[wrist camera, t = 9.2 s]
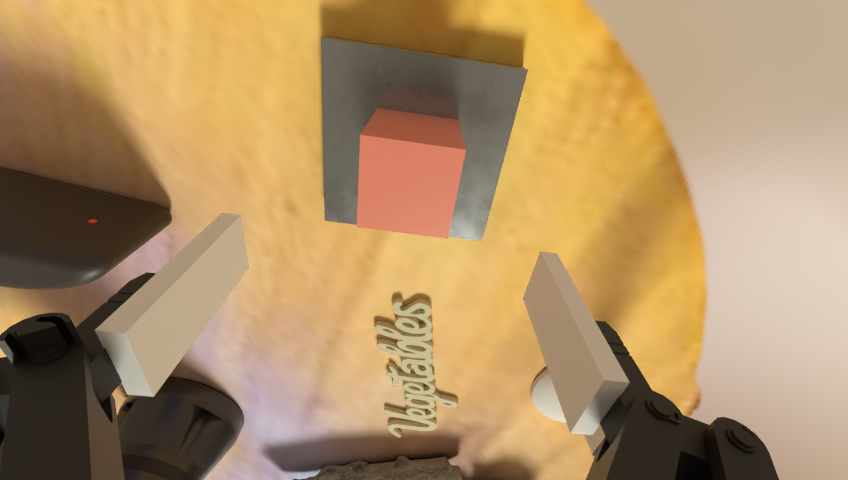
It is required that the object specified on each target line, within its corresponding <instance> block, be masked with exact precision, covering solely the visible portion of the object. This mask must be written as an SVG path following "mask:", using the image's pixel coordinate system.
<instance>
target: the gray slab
mask: <svg viewBox="0 0 848 480" xmlns="http://www.w3.org/2000/svg"><path fill="white" fill-rule="evenodd" d="M321 45H322V97H323V150H324V203H325V221H332V222H340V223H348V224H355V225H357V206H358V179H359V153H360V134H361V133H362V131H363V130H364V128H365V126H366V125H367V123H368V122H369V120H370V119H371V117H372V115H373V114H374V112H375V111H376V109H377V108H382V109H389V110H396V111H402V112H409V113H416V114H423V115H429V116H436V117H443V118H450V119H457V120H459V123H460V127H461V131H462V135H463V139H464V143H465V147H466V153H465V158H464V163H463V167H462V172H461V177H460V182H459V187H458V192H457V197H456V202H455V206H454V211H453V216H452V221H451V226H450V231H449V236H448V237H456V238H463V239H471V240H479V241H482V238H483V234H484V231H485V227H486V223H487V220H488V216H489V212H490V208H491V205H492V201H493V197H494V194H495V190H496V186H497V182H498V179H499V175H500V171H501V167H502V164H503V160H504V156H505V153H506V149H507V145H508V141H509V138H510V134H511V130H512V127H513V123H514V119H515V115H516V112H517V108H518V104H519V101H520V97H521V93H522V89H523V86H524V82H525V78H526V74H527V71H528V70H527V69H525V68H523V67H518V66H512V65H505V64H499V63H493V62H486V61H480V60H474V59H467V58H461V57H455V56H448V55H442V54H435V53H429V52H423V51H416V50H410V49H404V48H397V47H391V46H385V45H378V44H372V43H366V42H359V41H353V40H346V39H340V38H334V37H321Z"/></svg>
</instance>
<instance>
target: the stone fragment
mask: <svg viewBox="0 0 848 480" xmlns="http://www.w3.org/2000/svg"><path fill="white" fill-rule="evenodd" d="M293 480H299V479H293ZM300 480H463V479H462V476H461V471H460V467H459V466H452V465H451V464H450V463H449V462H448V459H447V457H439V458H432V459H418V460H409V459H408V458H407V457H405V456H404V455H400V456H398V457H397V459H396V461H392V462H384V463H374V464H368V462H367V461H365V462H364V461H356V462H353V463H350V464H347V465H344V466H338V465H327V466H325V467H324V468H323V469H321V471H320V472H319V474H317V475H316V476H314V477H309V478H306V479H300Z"/></svg>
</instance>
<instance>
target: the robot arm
mask: <svg viewBox="0 0 848 480" xmlns="http://www.w3.org/2000/svg"><path fill="white" fill-rule="evenodd" d="M248 268H249V264H248V258H247V252H246V245H245V239H244V233H243V226H242V220H241V215H235V214H226V213H222V214H221V215H219V216H218V217H217V218H216V219H215V220H214V221H213V222H212V223H211V224H210V225H209V226H207V227H206V228H205V229H204V230H203V231H202V232H201V233H200V234H199V235H198V236H197V237H196V238H194V239H193V240H192V241H191V242H190V243H189V244H188V245H187V246H186V247H185V248H184V249H182V250H181V251H180V252H179V253H178V254H177V255H176V256H175V257H174V258H173V259H172V260H170V261H169V262H168V263H167V264H166V265H165V266H164V267H163V268H162V269H161V270H160V271H158V272H157V273H145V274H143V275H141V276H139V277H137V278H135V279H133V280H131V281H129V282H128V283H127V284H126V285H125V286H124V287H123V288H121V289H120V290H119V291H118V293H117V294H114V295H113V296H112V297H111V298H110V299H109V300H108V302H107V303H104V304H103V305H102V306H100V307H99V308H98V309H97V310H96V311H95V312H94V313H92V314H91V315H90V316H89V317H88V318H87V319H85V320H84V321H83V322H82V323H81V324H80V325H78V326H77V327H76V328H75V326H74V324H73V323H72V321H71V319H70V317H69V316H68V315H65V314H63V313H46V314H41V315H36V316H33V317H30V318H27V319H25V320H22V321H20V322H18V323H16V324H15V325H13V326H11V327H9V328H8V329H7V330H6V331H5V332H3V333H2V334H1V335H0V348H1V349H2V350H3V352H4V353H5V355H6V356H7V357H3V358H0V480H204V479H205V477H206V476H207V475H208V474H209V473H210V472H211V470H212V469H213V468H214V467H215V466H216V465H217V463H218V462H219V461H220V460H221V459H222V458H223V456H224V455H225V454H226V453H227V452H228V451H229V449H230V448H231V447H232V446H233V445H234V443H235V442H236V440H237V438H238V436H239V434H240V432H241V429H242V427H243V424H244V418H243V414H242V412H241V411H240V409H239V408H238V406H237V405H236V404H235V403H234V402H233V401H232V400H230V399H229V398H228V397H226V396H225V395H223V394H222V393H220V392H218V391H216V390H214V389H212V388H210V387H208V386H205V385H202V384H199V383H196V382H192V381H188V380H183V379H176V378H168V377H169V375H170V374H171V373H172V371H173V370H174V369H175V367H176V366H177V364H178V363H179V362H180V360H181V359H182V358H183V356H184V355H185V354H186V352H187V351H188V350H189V348H190V347H191V345H192V344H193V343H194V341H195V340H196V339H197V337H198V336H199V335H200V333H201V332H202V331H203V329H204V328H205V326H206V325H207V324H208V322H209V321H210V320H211V318H212V317H213V316H214V314H215V313H216V311H217V310H218V309H219V307H220V306H221V305H222V303H223V302H224V301H225V299H226V298H227V297H228V295H229V294H230V292H231V291H232V290H233V288H234V287H235V286H236V284H237V283H238V282H239V280H240V279H241V277H242V276H243V275H244V273H245V272H246V271H247V269H248ZM523 300H524V302H525V305H526V308H527V311H528V314H529V317H530V320H531V322H532V325H533V328H534V331H535V334H536V337H537V340H538V342H539V345H540V348H541V351H542V354H543V357H544V360H545V362H546V365H547V368H548V371H549V374H550V377H551V380H552V382H553V385H554V388H555V391H556V394H557V397H558V400H559V402H560V405H561V408H562V411H563V414H564V417H565V420H566V422H567V425H568V428H569V431H570V433H574V434H586V435H593V434H594V433H595V431H596V430H597V428H598V427H599V425H601V427H602V430H603V432H604V434H605V438H604V439H603V440H602V442H601V443H600V444H599V446H598V447H597V448H596V450H595V451H594V452H593V454H592V455H594V456H595V459H594V461H593V463H592V466H591V468H590V471H589V473H588V476H587V478H586V480H779V478H778V476H777V473H776V471H775V468H774V465H773V462H772V460H771V457H770V454H769V452H768V450H767V448H766V446H765V445H764V443H763V442H762V441H761V440H760V439H759V437H758V436H757V435H756V434H755V433H753V432H752V431H751V430H750V429H748V428H747V427H746V426H744V425H742V424H741V423H739V422H737V421H735V420H732V419H729V418H726V417H720V418H717V419H716V420H715V421H714V422H712V423H711V424H710V425H708V424H705V423H702V422H700V421H697V420H694V419H692V418H689V417H686V416H684V415H682V414H681V412H680V410H679V409H678V408H677V407H676V406H675V405H674V403H673V402H671V401H670V400H669V399H667V398H666V397H665V396H663V395H661V394H659V393H657V392H655V391H652V389H651V388H650V386H649V384H648V383H647V381H646V380H645V378H644V376H643V375H642V373H641V371H640V370H639V368H638V367H637V365H636V363H635V362H634V360H633V358H632V357H631V356H629V352H628V350H627V349H626V347H625V346H623V345H624V344H623V342H622V341H621V339H620V337H619V336H618V334H617V332H616V331H614V330H613V329H612V328H611V327H610V326H609V325H608V324H607V323H606V322H603V321H595V320H594V318H593V316H592V315H591V313H590V311H589V309H588V308H587V306H586V304H585V302H584V301H583V299H582V297H581V295H580V294H579V292H578V290H577V288H576V286H575V285H574V283H573V281H572V279H571V278H570V276H569V274H568V272H567V271H566V269H565V267H564V265H563V263H562V262H561V260H560V258H559V256H558V255H557V254H556V253H548V252H540V254H539V257H538V259H537V262H536V265H535V267H534V270H533V273H532V275H531V278H530V281H529V283H528V286H527V289H526V291H525V294H524V297H523ZM120 383H122V385H123V387H124V389H125V391H126V393H127V395H129V396H128V397H127V398H126V400H125V401H124V402H123V404H122V406H121V408H120V410H119V413H118V415H117V414H116V406H115V400H114V398H113V396H112V392H113V391H114V390H115V389H116V388H117V387H118V385H119V384H120Z"/></svg>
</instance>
